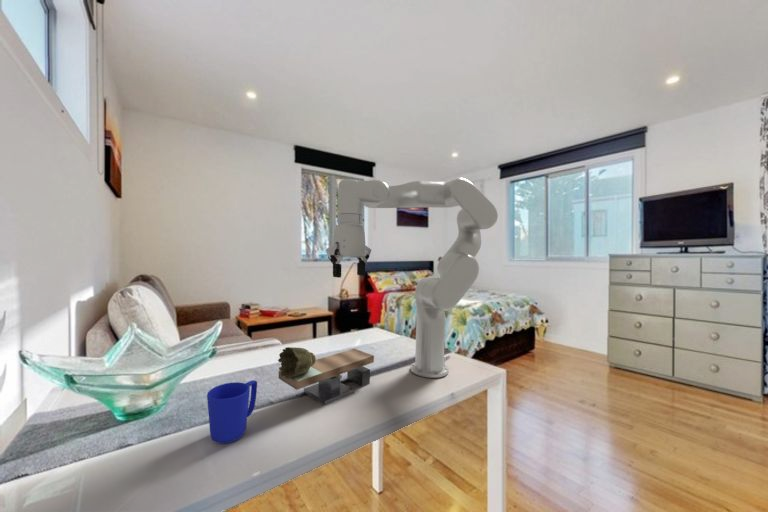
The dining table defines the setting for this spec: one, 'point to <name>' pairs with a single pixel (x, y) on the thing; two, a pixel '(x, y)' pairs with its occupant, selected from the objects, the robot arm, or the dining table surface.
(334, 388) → the pivot stand
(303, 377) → the beam
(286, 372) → the olive green rounded piece
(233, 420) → the mug
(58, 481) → the dining table surface
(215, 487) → the dining table surface
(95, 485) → the dining table surface
